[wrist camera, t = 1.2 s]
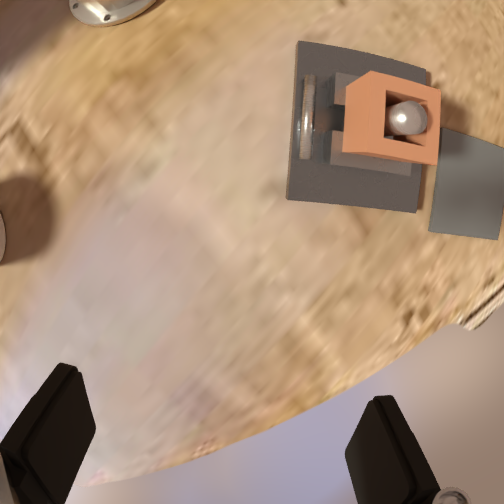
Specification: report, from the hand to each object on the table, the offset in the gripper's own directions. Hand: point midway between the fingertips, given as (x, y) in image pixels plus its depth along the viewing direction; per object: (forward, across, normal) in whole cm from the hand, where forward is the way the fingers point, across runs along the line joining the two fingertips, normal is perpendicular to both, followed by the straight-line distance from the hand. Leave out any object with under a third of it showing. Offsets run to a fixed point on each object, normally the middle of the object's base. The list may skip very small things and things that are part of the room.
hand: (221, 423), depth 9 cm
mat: (+24, -27, -9) cm, 38 cm away
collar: (+20, -11, -12) cm, 26 cm away
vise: (+25, -11, -12) cm, 30 cm away
